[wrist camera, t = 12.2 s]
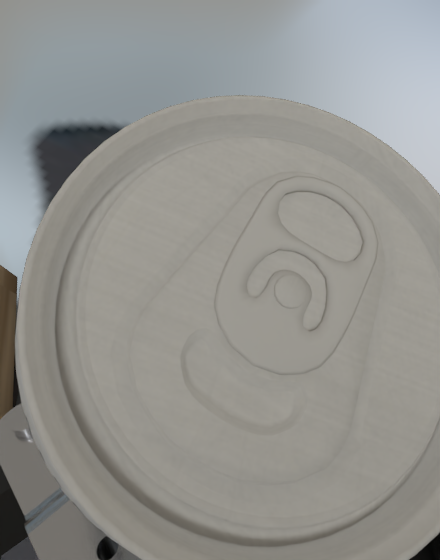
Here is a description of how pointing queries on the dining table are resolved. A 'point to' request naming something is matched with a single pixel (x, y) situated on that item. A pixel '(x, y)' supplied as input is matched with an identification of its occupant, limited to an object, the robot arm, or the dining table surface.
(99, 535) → the robot arm
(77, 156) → the dining table surface
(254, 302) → the beer can
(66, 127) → the dining table surface
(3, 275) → the crate
